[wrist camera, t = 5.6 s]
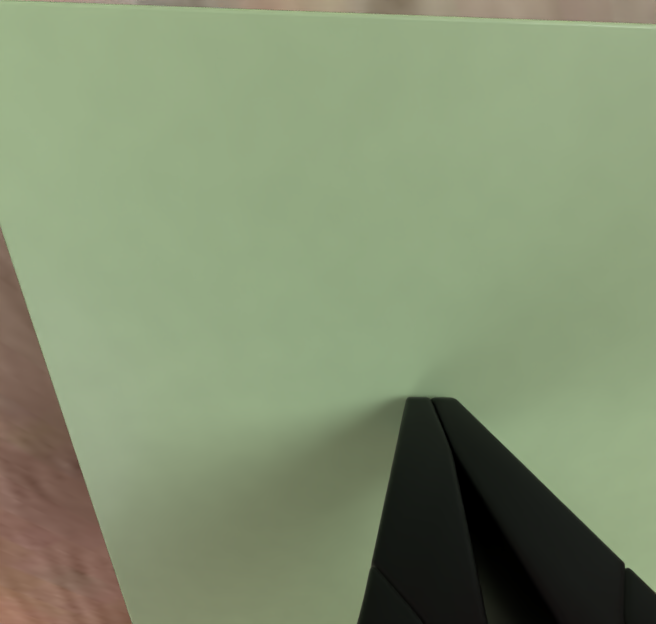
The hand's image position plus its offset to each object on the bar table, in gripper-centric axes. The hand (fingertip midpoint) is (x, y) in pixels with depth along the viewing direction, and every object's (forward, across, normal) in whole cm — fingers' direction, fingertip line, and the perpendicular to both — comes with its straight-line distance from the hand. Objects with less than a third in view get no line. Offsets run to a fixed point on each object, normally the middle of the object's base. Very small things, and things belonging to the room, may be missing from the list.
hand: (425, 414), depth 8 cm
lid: (+1, 0, +2) cm, 2 cm away
